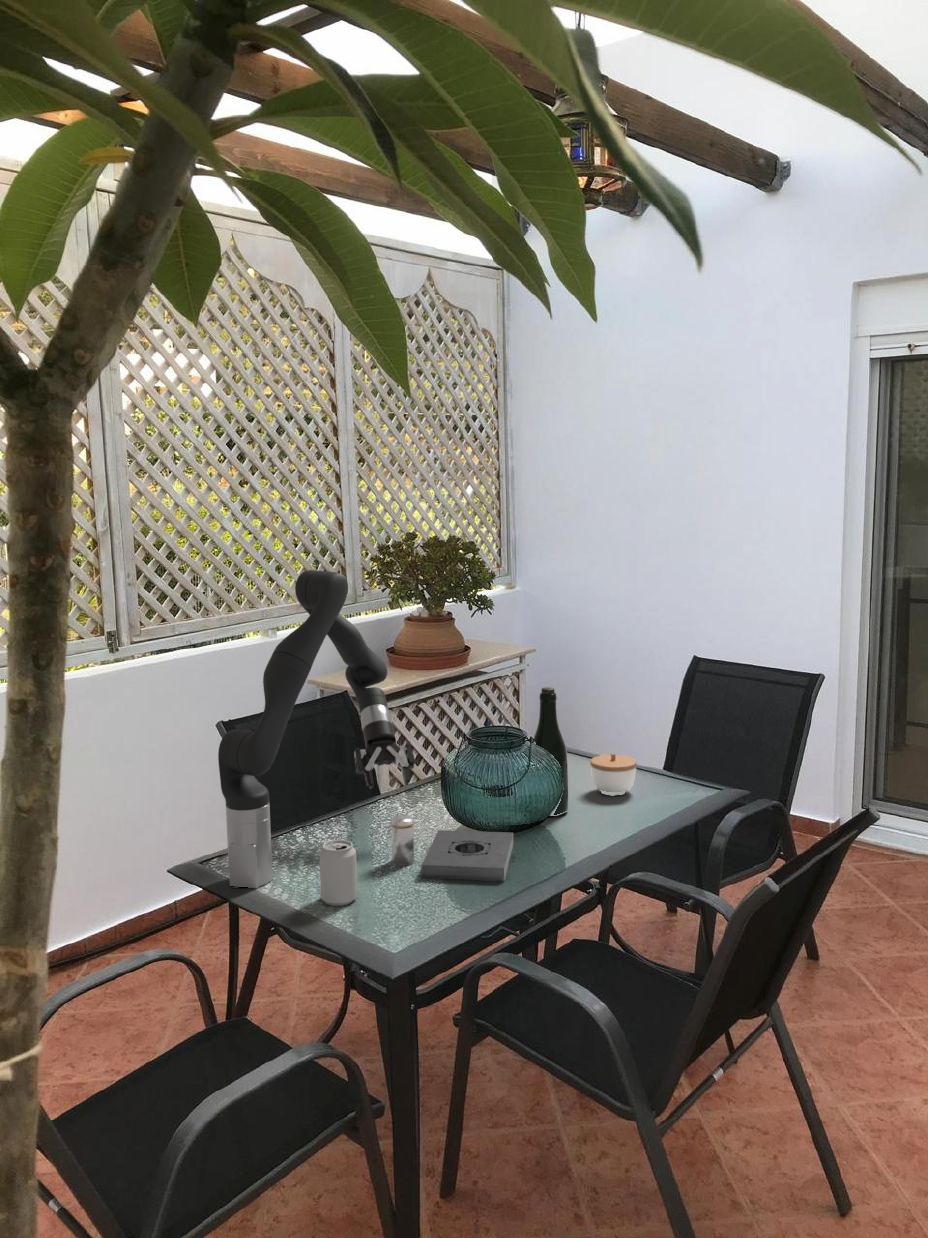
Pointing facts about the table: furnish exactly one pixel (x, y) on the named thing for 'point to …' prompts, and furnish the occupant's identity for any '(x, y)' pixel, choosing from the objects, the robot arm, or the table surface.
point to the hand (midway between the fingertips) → (389, 785)
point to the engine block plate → (468, 855)
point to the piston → (402, 840)
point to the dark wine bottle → (552, 739)
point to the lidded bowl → (613, 772)
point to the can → (338, 872)
